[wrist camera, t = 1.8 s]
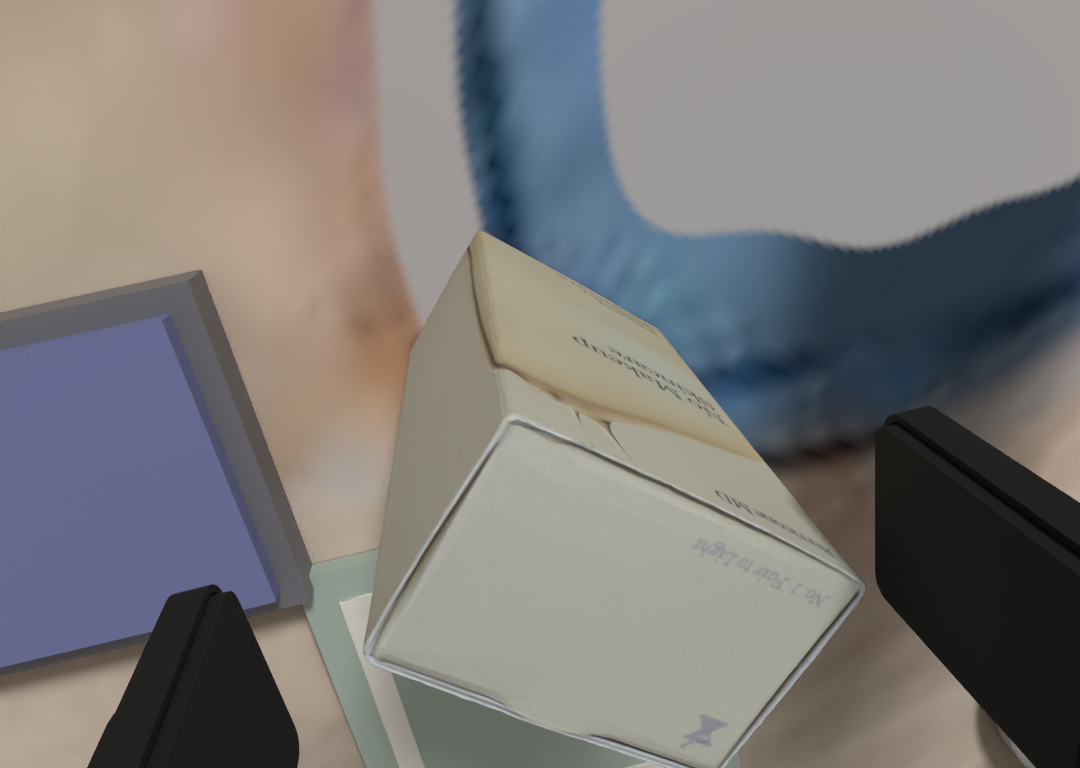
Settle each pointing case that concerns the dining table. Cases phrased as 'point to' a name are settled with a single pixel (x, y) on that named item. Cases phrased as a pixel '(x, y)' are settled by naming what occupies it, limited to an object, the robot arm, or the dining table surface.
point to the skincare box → (589, 528)
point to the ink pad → (130, 473)
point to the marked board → (425, 697)
